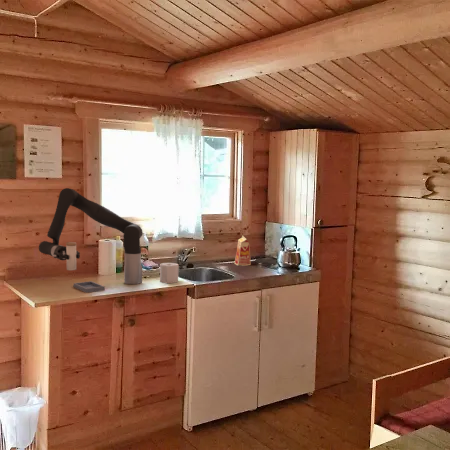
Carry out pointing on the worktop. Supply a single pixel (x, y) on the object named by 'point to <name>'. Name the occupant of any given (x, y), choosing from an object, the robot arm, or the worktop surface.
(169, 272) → the toilet tissue
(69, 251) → the canister
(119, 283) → the worktop surface
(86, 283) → the dish
